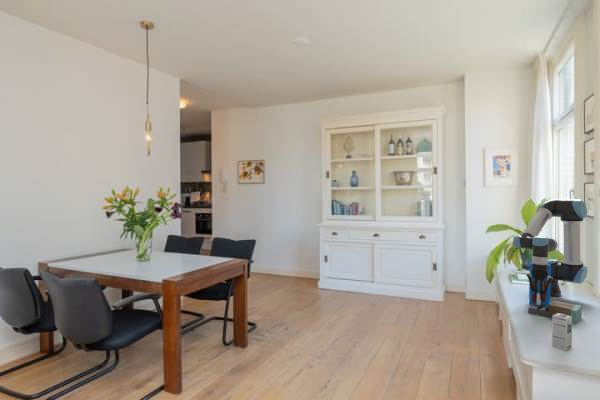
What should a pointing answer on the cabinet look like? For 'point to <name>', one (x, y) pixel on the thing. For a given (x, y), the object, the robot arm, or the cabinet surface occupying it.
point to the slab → (560, 307)
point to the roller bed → (540, 310)
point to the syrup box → (562, 331)
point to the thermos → (546, 296)
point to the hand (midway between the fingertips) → (538, 304)
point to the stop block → (576, 313)
